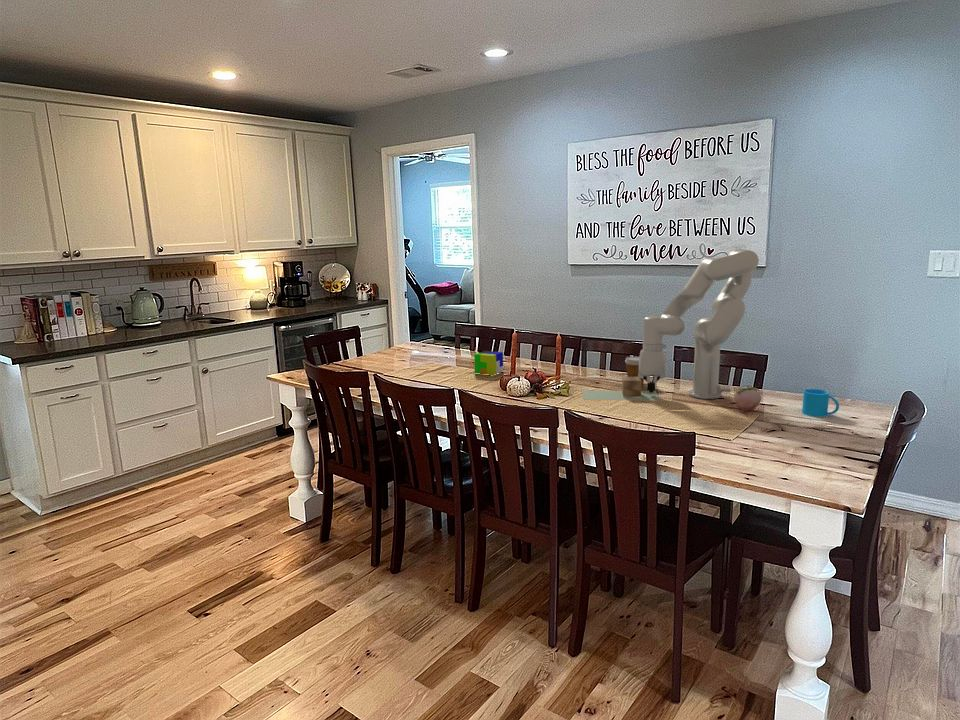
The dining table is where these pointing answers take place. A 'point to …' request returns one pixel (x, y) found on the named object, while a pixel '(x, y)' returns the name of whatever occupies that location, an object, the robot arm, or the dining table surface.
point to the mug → (817, 403)
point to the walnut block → (631, 387)
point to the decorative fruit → (747, 398)
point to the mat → (617, 395)
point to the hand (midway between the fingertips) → (651, 391)
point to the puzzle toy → (488, 362)
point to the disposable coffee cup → (633, 367)
